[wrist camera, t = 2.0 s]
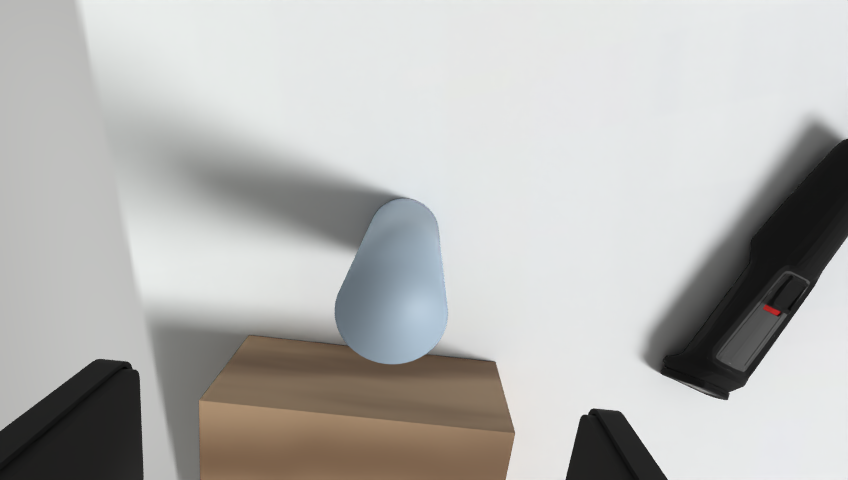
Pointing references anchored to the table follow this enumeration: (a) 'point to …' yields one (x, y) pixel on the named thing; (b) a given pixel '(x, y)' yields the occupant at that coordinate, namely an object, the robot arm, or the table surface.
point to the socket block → (352, 416)
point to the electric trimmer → (770, 283)
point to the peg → (395, 287)
